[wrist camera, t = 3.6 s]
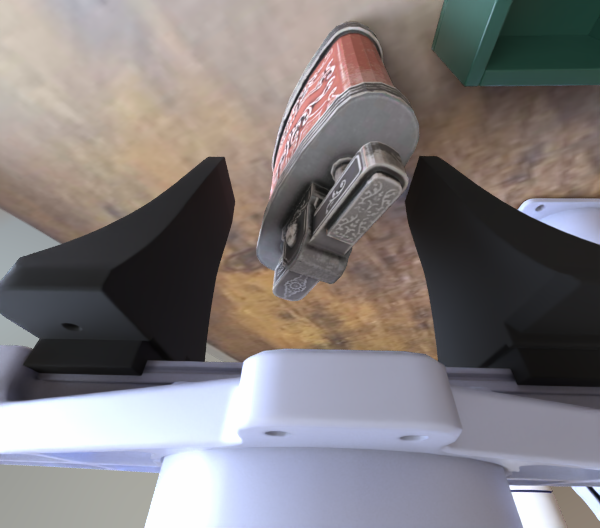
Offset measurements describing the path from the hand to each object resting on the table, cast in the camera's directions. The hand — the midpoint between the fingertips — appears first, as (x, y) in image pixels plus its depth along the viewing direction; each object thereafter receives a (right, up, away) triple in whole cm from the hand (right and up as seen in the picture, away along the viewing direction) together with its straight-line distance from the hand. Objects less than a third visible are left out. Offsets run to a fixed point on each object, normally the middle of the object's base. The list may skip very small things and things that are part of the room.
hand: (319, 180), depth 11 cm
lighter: (0, +5, +4) cm, 6 cm away
